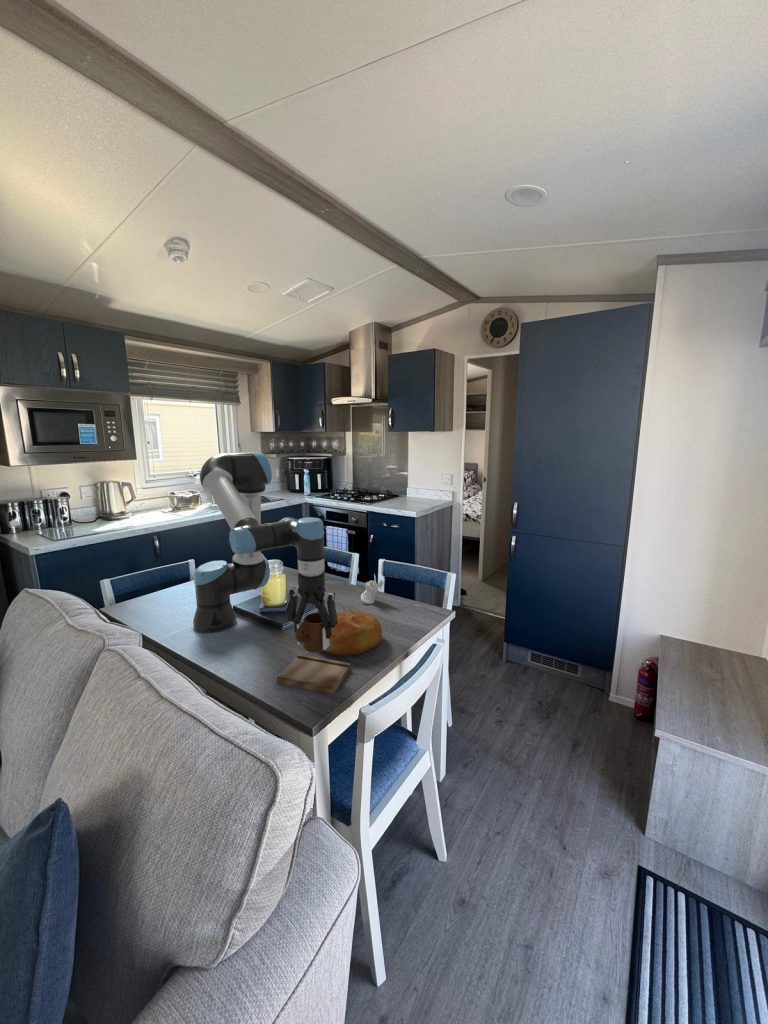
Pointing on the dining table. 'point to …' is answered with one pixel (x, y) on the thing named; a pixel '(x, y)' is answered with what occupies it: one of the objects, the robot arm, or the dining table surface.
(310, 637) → the mug
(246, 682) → the dining table surface
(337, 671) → the board
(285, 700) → the dining table surface
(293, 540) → the robot arm
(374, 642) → the bread
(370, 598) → the figurine
